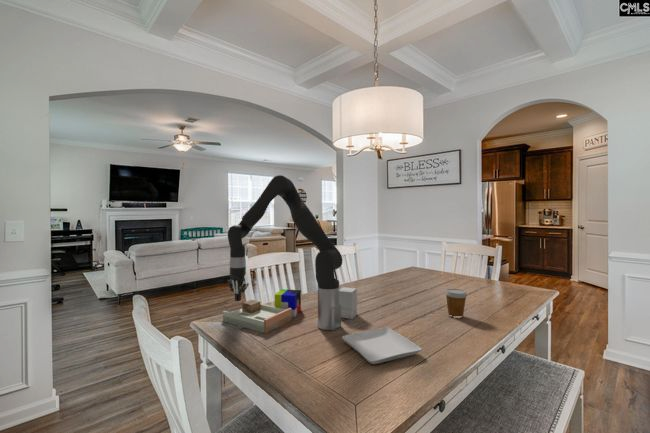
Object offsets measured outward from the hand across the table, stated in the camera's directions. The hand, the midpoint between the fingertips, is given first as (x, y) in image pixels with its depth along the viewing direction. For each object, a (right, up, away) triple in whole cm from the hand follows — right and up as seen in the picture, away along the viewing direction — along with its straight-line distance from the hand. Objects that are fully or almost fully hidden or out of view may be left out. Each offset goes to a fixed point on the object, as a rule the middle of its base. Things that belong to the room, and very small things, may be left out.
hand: (237, 300), depth 150 cm
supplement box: (+53, -6, -5) cm, 54 cm away
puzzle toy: (+25, -6, 0) cm, 25 cm away
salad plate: (+63, -7, -40) cm, 75 cm away
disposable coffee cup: (+105, -6, -5) cm, 105 cm away
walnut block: (+8, -3, -5) cm, 10 cm away
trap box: (+12, -6, -11) cm, 18 cm away
